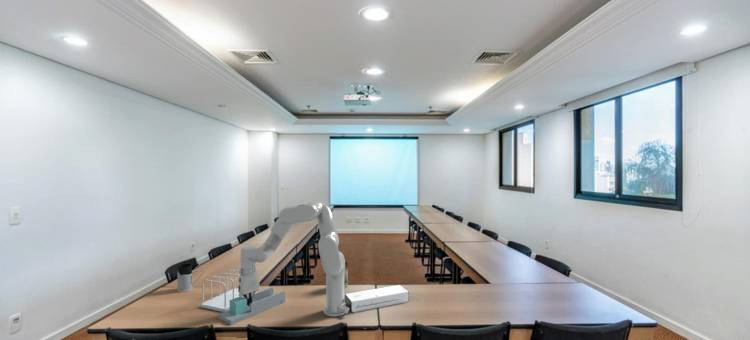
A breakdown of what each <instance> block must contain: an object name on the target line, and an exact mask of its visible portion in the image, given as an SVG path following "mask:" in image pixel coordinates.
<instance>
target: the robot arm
mask: <svg viewBox="0 0 750 340" xmlns="http://www.w3.org/2000/svg"><path fill="white" fill-rule="evenodd" d="M315 219H316V221H317V225H318V230H319V235H320V238H319V240H318V243H317V246H318V247H317V248H318V254H319V256H320V261H321V265H322V269H323V271H324V273H325V286H326V287H325V292H326V293H325V297H326V298H325V299H326V302H325V303H326V304H325V305H326V306H325V307H324V308H323V310H322V311H323V314H324V315H325V316H328V317H341V316H343V315H345V314H349V311H350V309H349V307H348V306H347V305H346V303H345V288H344V270H345V261H346V259H345V256H344V254H343V252H341V250H340V251H339V244H340V238H339V235H338V232H337V227H336V223H335V220H334V217H333V212H332V211H331V209H330V207H329V206H328V205H327V204H325V203H324V202H321V201H318V200H313V201H309V202H308V203H305V204H302V205H297V206H295V205H289V206H286V207H285V208H283V209H281V210H280V212H279V214H278V218H277V219H276V221H275V222H274V223H273V225H272V226H271V228H270V234H269V236H268V237H267V238H266V240H265V241H264V243H263V244H262V245H261V246H259V247H257V248H256V246H253V245H246V246H243V247H241V249H240V267H241V268H239V269H240V270H238V271H239V272H238V275H239V277H238V283H237V284H238V285H237V288H238V292H239V297H245V299H247V305H248V306H250V304H251V303H252V297H253V295H254V293H255V292H259V290H260V287H261V286H260V277H259V272H258V270H257V263H258V264H259V263H265V261H267V260H268V259H269V258H270V257H271V256H273V255H274V253H275V252H276V250H277V249H278V248H279V246H280V245H281V244H282V242H283V241H284V239H285V237H286V236H287V235H288V233H289V232H290V231H291V229H292V228H293V227H294V225H296V224H302V223H306V222H311V221H313V220H315Z"/></svg>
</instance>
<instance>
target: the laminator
mask: <svg viewBox="0 0 750 340" xmlns="http://www.w3.org/2000/svg"><path fill="white" fill-rule="evenodd" d="M409 293H410V291H409V290H407V289H406V288H405V287H403V286H402V285H401V284H397V285H390V286H385V287H379V288H374V289H368V290H367V289H366V290H362V291H356V292H349V293H344V301H345V303H346V307H348V308H349V311H351V313H358V312H363V311H367V310H373V309H376V308H383V307H387V306H393V305H398V304H403V303H408V302H409V301H410V300H409V299H410V294H409Z"/></svg>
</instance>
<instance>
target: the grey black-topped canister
mask: <svg viewBox="0 0 750 340" xmlns="http://www.w3.org/2000/svg"><path fill="white" fill-rule="evenodd" d="M192 267H193V265H192V264H191V263H184V264H180V265H178V266H177V274H176V275H177V290H176V292H177V293H187V292H186V291H188V292H190V290H191V291H192V290H194V287H193V286H194V285H195V283H196V282H197V281H198V280H199V279H200V278H201V277H202V274H203V272H204V271H203V270H204V268H203V266H202V265H200V267H201V274H200V276H198V278H197V279H195V281H194V282H193V274H196V269H197V268H198V267H199V265H197V266H196V267H195V268H194V271H193V269H192Z"/></svg>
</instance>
